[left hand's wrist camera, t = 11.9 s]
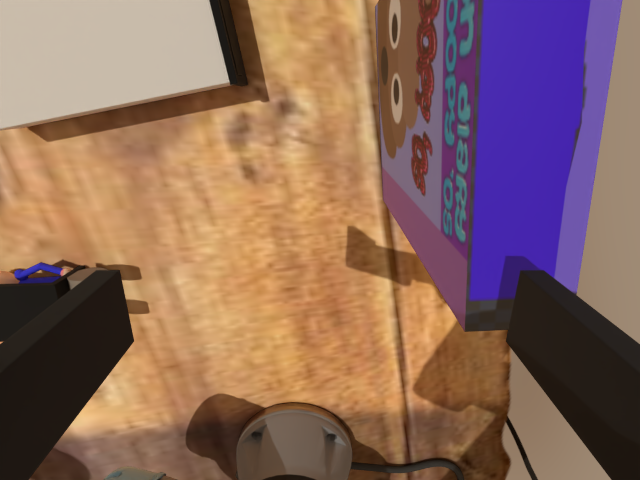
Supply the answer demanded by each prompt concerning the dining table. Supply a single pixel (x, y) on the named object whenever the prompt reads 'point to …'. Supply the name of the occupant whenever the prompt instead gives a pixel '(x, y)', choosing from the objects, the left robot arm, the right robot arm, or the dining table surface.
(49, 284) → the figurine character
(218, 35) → the disc drive
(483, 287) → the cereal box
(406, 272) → the dining table surface
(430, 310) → the dining table surface
